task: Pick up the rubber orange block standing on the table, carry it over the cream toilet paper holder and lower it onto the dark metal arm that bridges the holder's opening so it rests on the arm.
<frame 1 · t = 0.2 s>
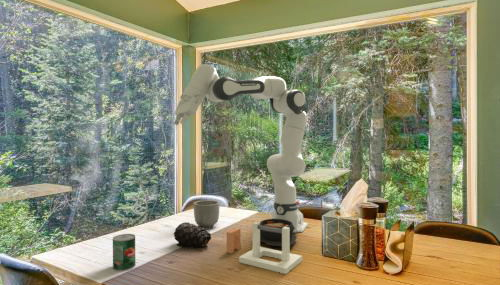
hand: (178, 124, 135), 54 cm above the table, tool tilted 30°, fingers open, 8 cm apart
pine cone: (193, 245, 139), on the table
planter: (206, 227, 168), on the table
toilet paper holder: (270, 261, 121), on the table
canned tomato: (124, 266, 117), on the table
orange block: (233, 250, 133), on the table
casserole: (276, 241, 145), on the table
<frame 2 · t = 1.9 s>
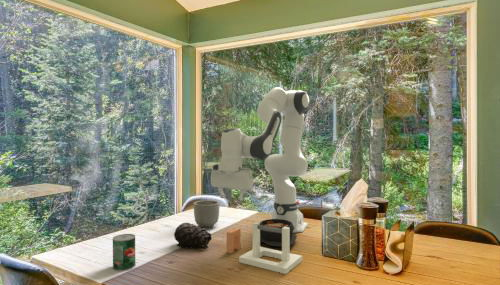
hand: (231, 199, 132), 22 cm above the table, tool pointing down, fingers open, 8 cm apart
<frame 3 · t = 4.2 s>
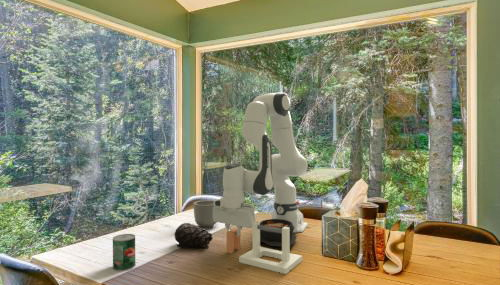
hand: (233, 234, 132), 7 cm above the table, tool pointing down, fingers closed on orange block, 2 cm apart
orange block: (233, 250, 133), on the table, touching gripper
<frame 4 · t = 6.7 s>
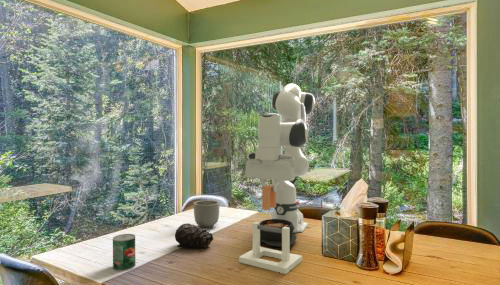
hand: (269, 190, 120), 27 cm above the table, tool pointing down, fingers closed on orange block, 2 cm apart
orange block: (269, 208, 120), point 21 cm above the table, touching gripper
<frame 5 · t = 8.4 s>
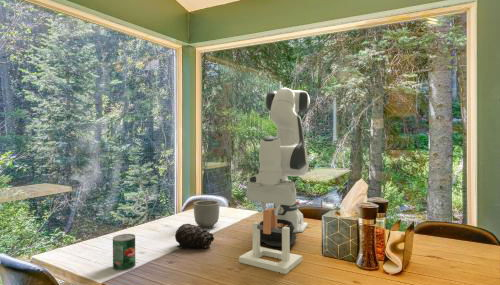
hand: (270, 214, 120), 18 cm above the table, tool pointing down, fingers closed on orange block, 2 cm apart
orange block: (270, 231, 120), point 12 cm above the table, touching gripper
when the fingers open (14 cm above the table, at t = 9.4 s): orange block moves 1 cm, resting on toilet paper holder.
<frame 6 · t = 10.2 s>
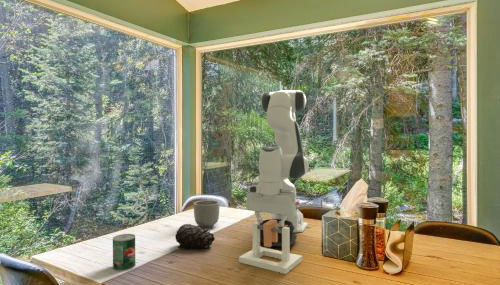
hand: (270, 224, 120), 14 cm above the table, tool pointing down, fingers open, 8 cm apart
orange block: (271, 243, 121), point 7 cm above the table, touching toilet paper holder
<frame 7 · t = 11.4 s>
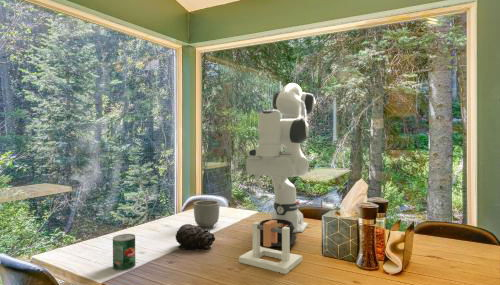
hand: (270, 187, 120), 29 cm above the table, tool pointing down, fingers open, 8 cm apart
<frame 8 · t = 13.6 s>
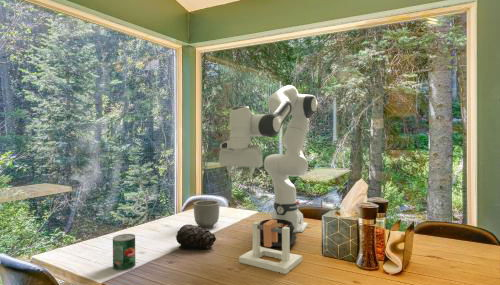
hand: (240, 177, 131), 31 cm above the table, tool pointing down, fingers open, 8 cm apart
at the end: orange block 0.3 cm off-centre on the toilet paper holder, point 6.8 cm above the toilet paper holder's base; orange block touching toilet paper holder; the gripper is holding nothing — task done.
